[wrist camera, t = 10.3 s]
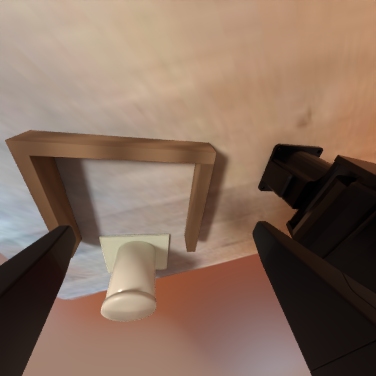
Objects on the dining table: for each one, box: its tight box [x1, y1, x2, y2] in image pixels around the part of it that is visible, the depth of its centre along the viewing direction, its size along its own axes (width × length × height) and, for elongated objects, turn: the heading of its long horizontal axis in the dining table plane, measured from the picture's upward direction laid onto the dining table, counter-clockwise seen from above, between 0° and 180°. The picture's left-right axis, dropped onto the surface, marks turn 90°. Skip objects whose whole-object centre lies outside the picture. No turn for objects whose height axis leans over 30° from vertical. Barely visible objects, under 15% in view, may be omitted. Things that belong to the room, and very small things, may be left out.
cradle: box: [5, 130, 216, 258], centre depth 20 cm, size 17×15×3 cm
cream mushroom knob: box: [101, 241, 156, 321], centre depth 24 cm, size 9×6×8 cm
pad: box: [99, 234, 169, 273], centre depth 27 cm, size 10×9×1 cm
